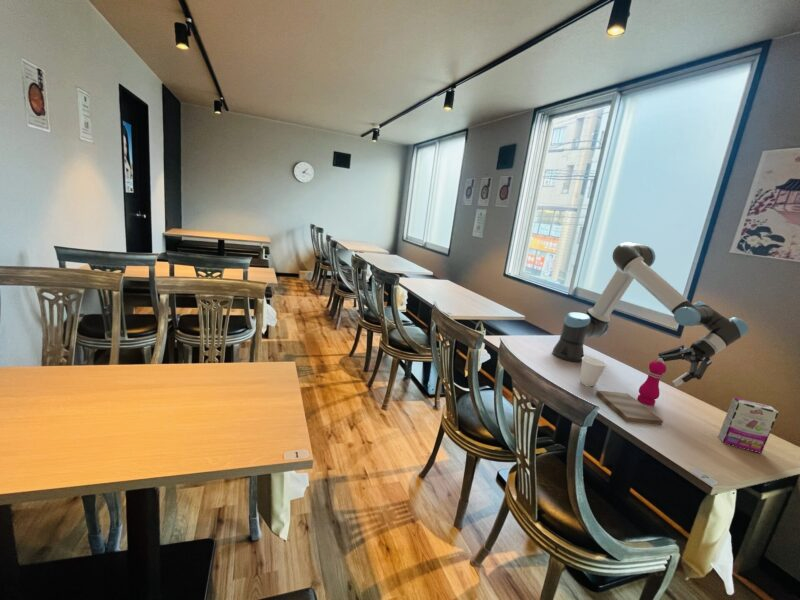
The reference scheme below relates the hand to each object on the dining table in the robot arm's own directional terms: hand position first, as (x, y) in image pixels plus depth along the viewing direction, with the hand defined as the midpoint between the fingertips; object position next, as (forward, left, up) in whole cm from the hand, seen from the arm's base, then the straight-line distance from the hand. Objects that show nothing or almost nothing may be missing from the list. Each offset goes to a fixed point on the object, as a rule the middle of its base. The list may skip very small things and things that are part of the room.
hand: (661, 376), depth 151 cm
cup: (-13, -21, -13) cm, 28 cm away
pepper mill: (-1, -2, -13) cm, 13 cm away
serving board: (+7, -16, -12) cm, 22 cm away
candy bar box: (+25, +14, -13) cm, 31 cm away
